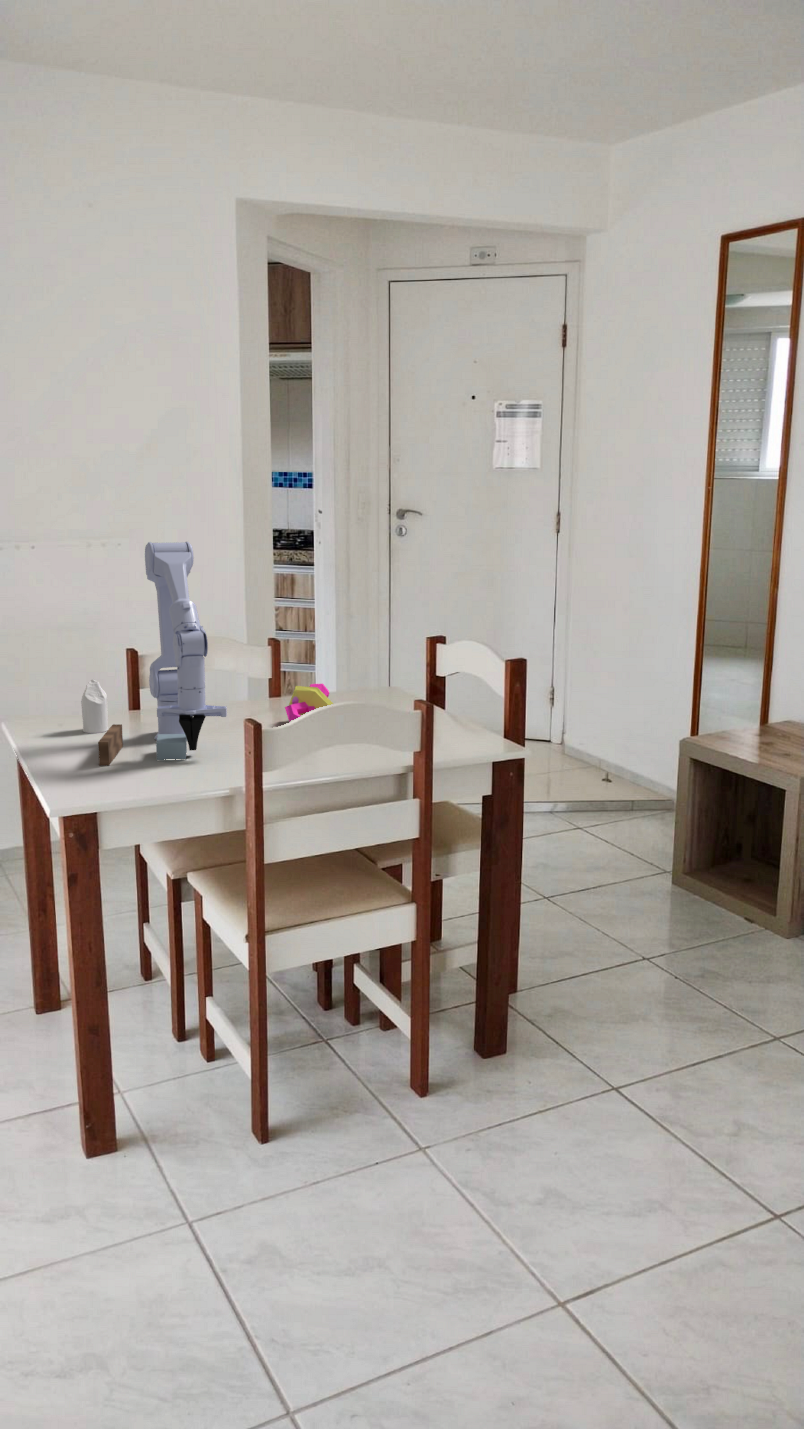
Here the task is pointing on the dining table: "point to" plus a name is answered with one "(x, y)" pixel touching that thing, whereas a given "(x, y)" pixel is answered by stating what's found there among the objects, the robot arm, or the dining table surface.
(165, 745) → the slate block
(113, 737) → the walnut board
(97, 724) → the crumpled white cylinder
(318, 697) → the toy
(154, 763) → the dining table surface
